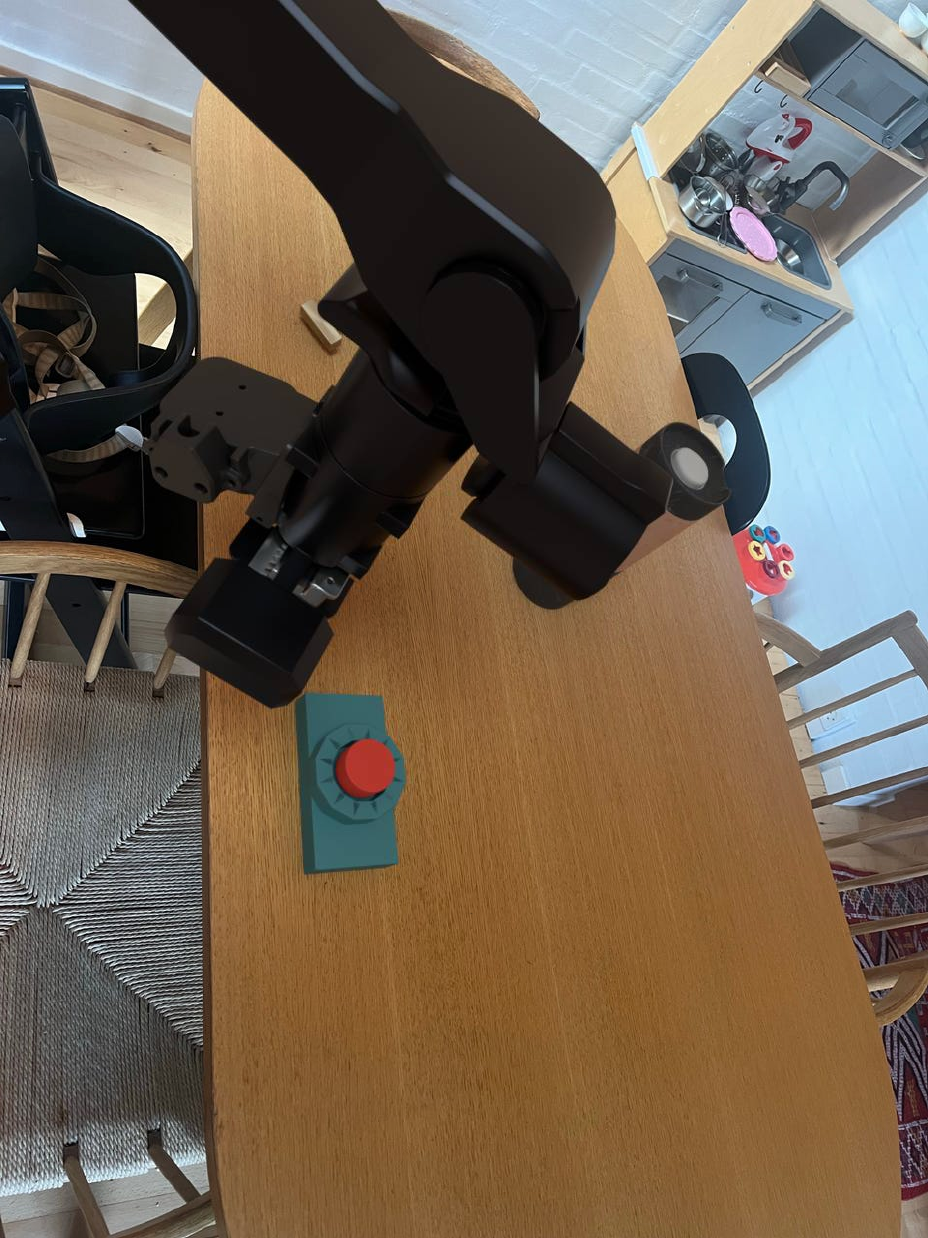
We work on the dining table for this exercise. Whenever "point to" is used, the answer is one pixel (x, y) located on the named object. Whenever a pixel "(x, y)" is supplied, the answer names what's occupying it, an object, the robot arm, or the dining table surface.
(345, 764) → the button
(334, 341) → the lever
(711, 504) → the travel mug
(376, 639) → the dining table surface
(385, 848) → the button block
